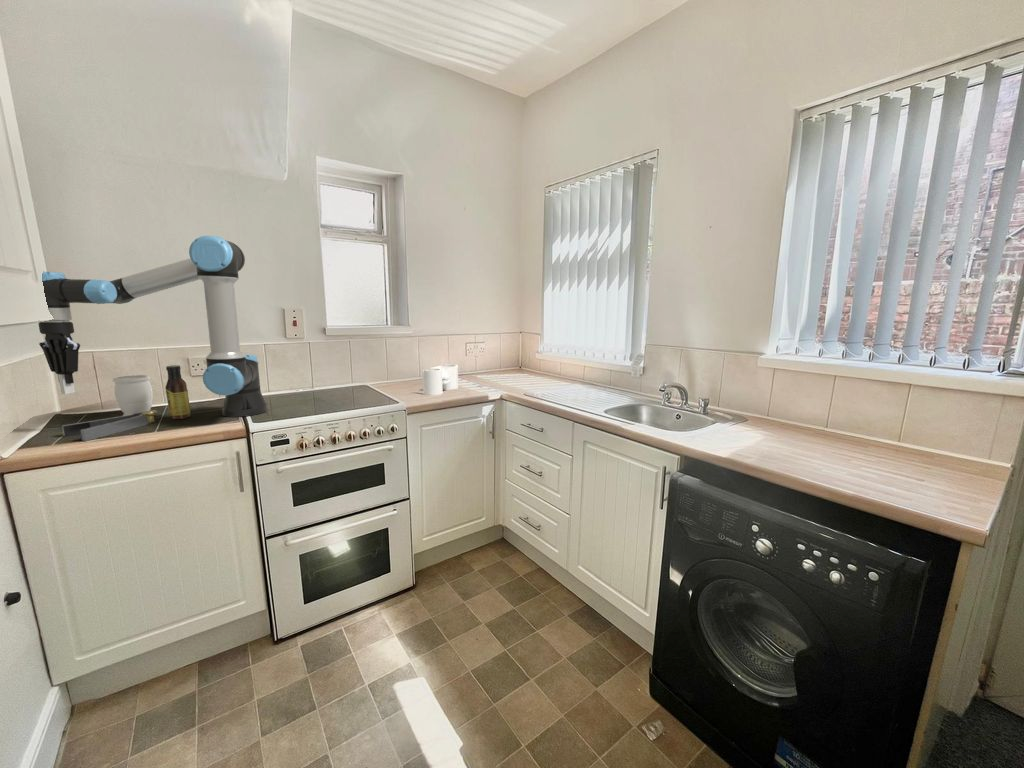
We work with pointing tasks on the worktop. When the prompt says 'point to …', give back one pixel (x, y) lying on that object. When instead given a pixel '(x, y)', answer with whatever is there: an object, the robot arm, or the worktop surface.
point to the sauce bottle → (177, 394)
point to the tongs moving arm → (98, 423)
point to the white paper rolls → (440, 379)
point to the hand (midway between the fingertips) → (68, 393)
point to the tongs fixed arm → (115, 427)
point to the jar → (133, 393)
